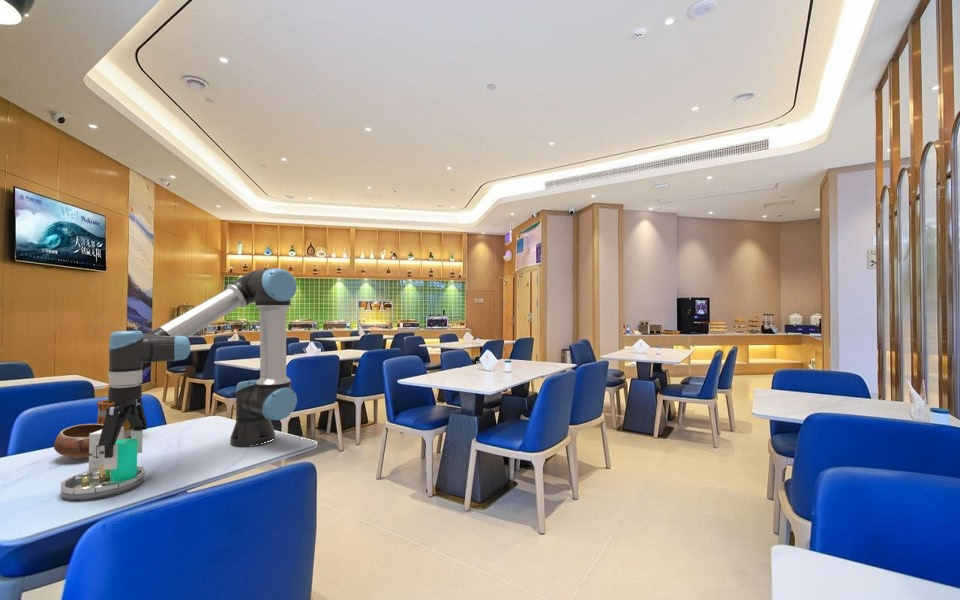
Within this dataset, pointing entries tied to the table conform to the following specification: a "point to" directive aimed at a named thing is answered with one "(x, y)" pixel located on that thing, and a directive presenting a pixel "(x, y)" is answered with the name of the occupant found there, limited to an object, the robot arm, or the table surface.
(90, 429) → the bowl
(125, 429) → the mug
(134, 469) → the candle
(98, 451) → the ink box
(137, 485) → the carrier
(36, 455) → the table surface
